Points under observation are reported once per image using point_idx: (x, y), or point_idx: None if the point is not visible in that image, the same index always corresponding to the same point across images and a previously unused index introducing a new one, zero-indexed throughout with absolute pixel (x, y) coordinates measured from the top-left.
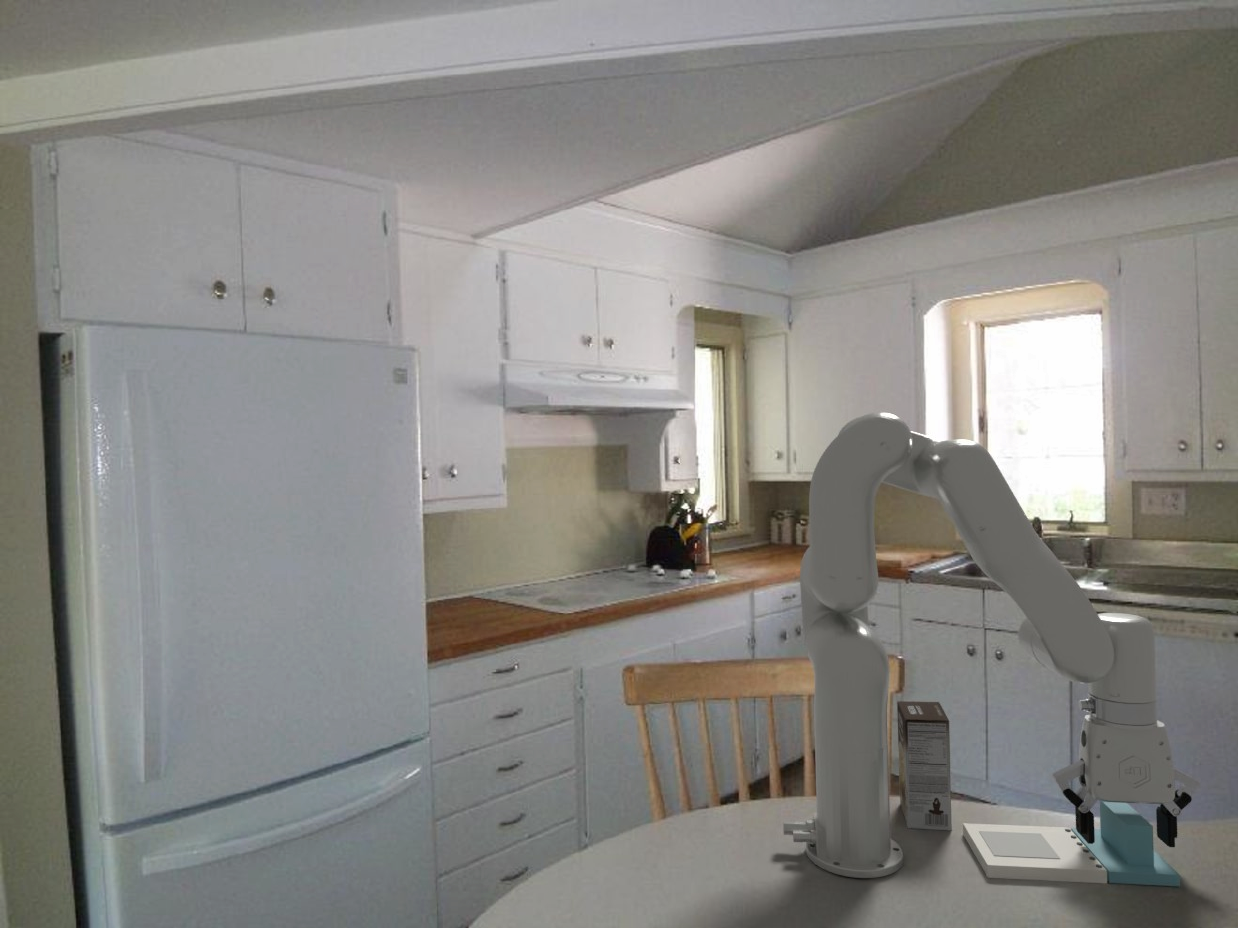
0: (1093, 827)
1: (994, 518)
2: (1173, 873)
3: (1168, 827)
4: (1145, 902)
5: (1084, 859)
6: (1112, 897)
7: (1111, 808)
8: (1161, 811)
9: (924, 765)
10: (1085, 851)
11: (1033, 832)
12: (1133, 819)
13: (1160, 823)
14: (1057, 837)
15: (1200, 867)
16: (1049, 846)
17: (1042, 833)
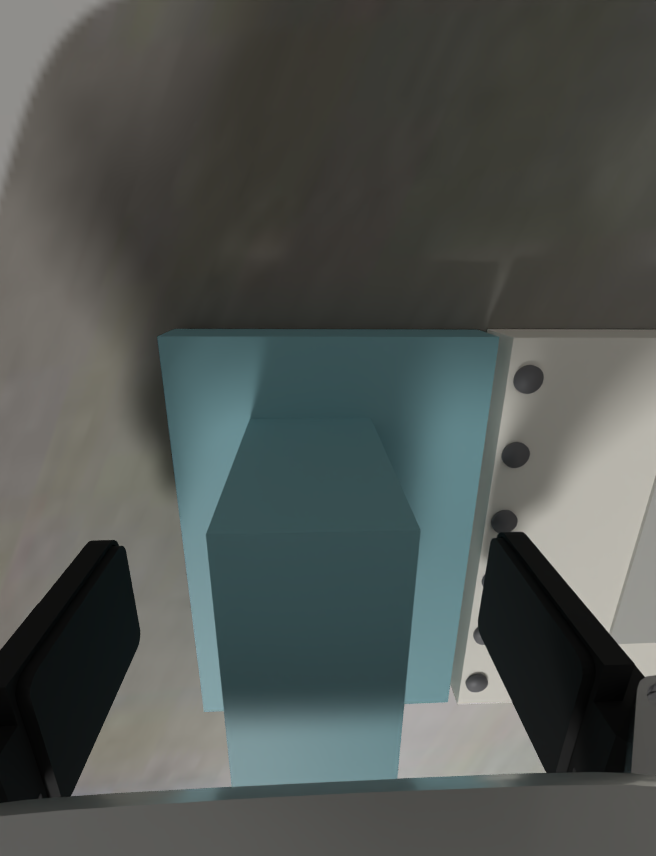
0: (540, 590)
1: None
2: (184, 348)
3: (66, 622)
4: (403, 154)
5: (556, 441)
6: (534, 192)
7: (384, 767)
8: (44, 766)
9: None
10: (511, 513)
11: (625, 651)
12: (310, 634)
13: (97, 681)
14: None
15: (27, 512)
16: (644, 541)
17: None
